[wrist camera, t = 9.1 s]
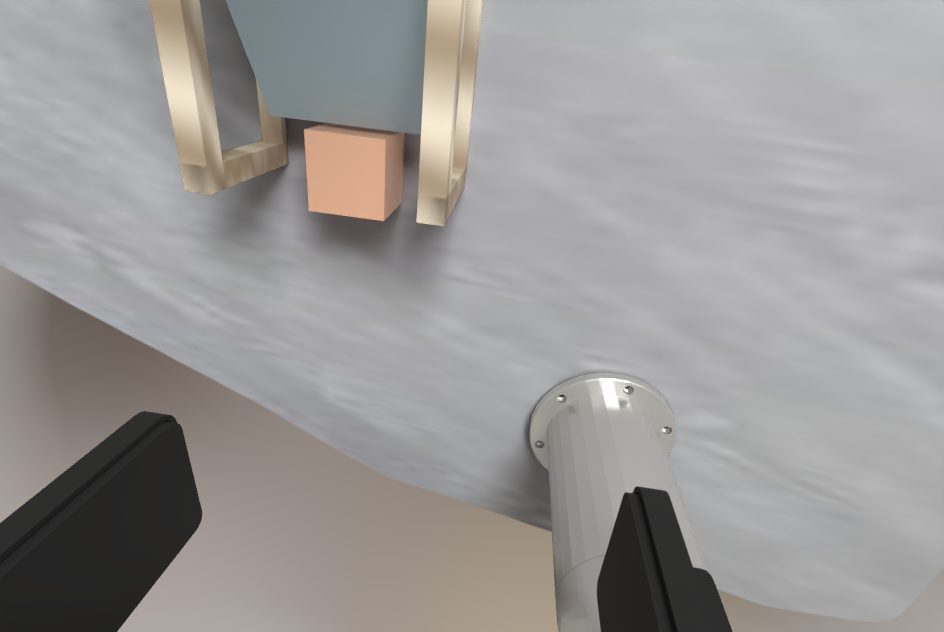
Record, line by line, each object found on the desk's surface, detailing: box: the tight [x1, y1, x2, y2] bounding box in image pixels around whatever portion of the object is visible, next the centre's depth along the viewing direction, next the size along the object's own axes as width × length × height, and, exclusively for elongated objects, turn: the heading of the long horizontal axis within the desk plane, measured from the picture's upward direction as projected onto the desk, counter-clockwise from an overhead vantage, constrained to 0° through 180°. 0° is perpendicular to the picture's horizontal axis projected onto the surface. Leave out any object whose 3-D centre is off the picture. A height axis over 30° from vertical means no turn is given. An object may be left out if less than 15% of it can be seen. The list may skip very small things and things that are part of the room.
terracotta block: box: [304, 123, 405, 221], centre depth 31 cm, size 5×5×5 cm
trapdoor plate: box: [225, 0, 428, 135], centre depth 25 cm, size 12×10×1 cm
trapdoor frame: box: [150, 0, 483, 226], centre depth 26 cm, size 16×14×10 cm
